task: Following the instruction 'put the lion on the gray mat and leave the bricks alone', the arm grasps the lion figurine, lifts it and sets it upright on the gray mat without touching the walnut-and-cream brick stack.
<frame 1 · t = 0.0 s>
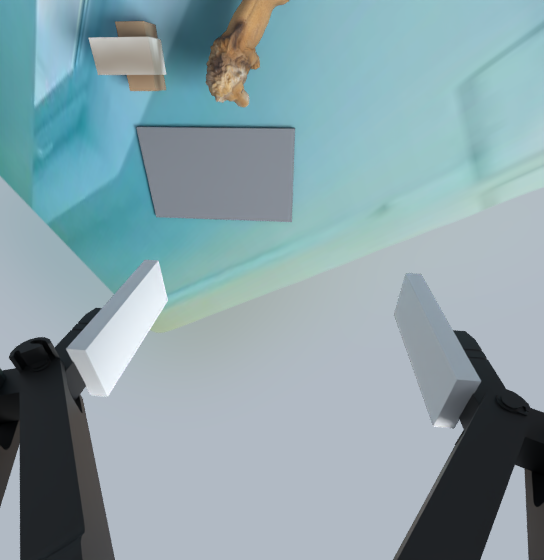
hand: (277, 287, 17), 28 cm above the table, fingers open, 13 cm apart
brick stack: (148, 59, 35), on the table
lion figurine: (261, 34, 33), on the table
gray mat: (219, 176, 42), on the table
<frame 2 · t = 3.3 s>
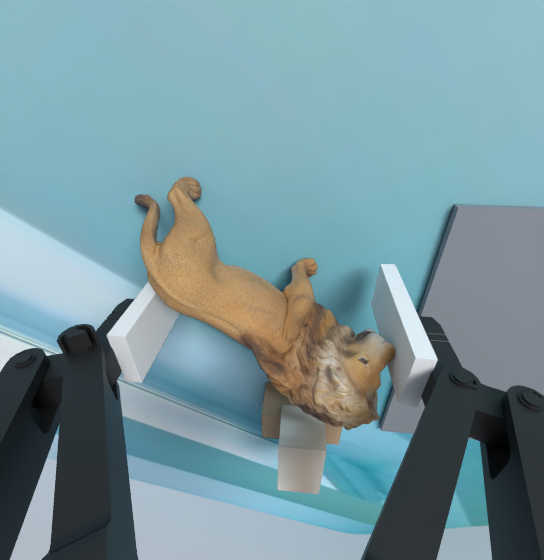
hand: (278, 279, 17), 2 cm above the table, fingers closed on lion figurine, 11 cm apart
brick stack: (301, 396, 26), on the table
lion figurine: (266, 251, 19), on the table, touching gripper
gray mat: (498, 349, 21), on the table
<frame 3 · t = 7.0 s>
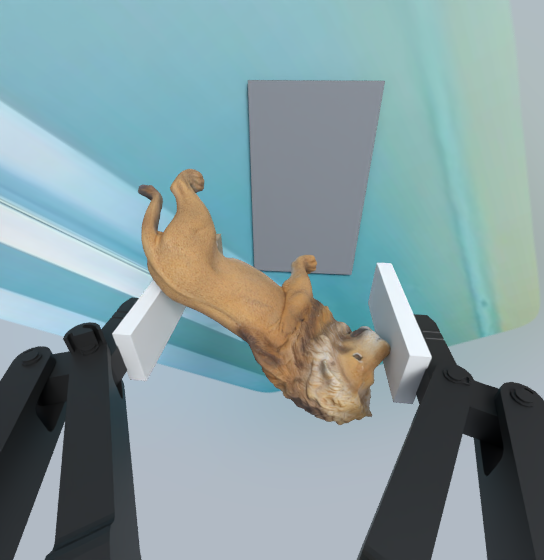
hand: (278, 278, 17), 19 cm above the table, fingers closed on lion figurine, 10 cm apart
lion figurine: (267, 246, 19), point 16 cm above the table, touching gripper
gray mat: (307, 191, 33), on the table
when the fingers open (4 cm above the table, at t = 10.5 s): lion figurine drops 1 cm, resting on gray mat.
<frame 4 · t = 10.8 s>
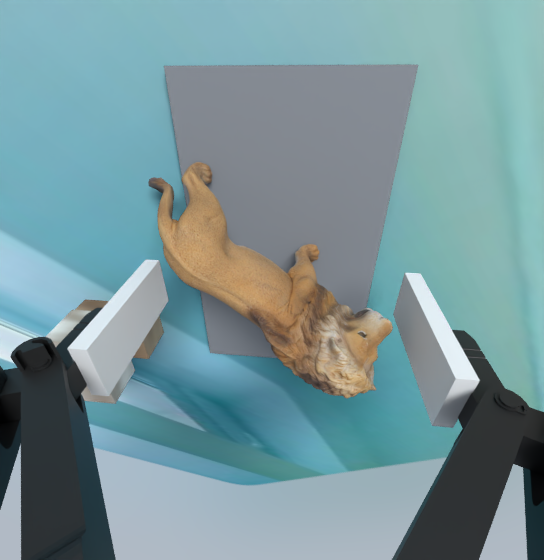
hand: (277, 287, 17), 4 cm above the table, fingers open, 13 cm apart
brick stack: (125, 315, 26), on the table
lion figurine: (271, 236, 20), resting on gray mat
gray mat: (283, 248, 21), on the table
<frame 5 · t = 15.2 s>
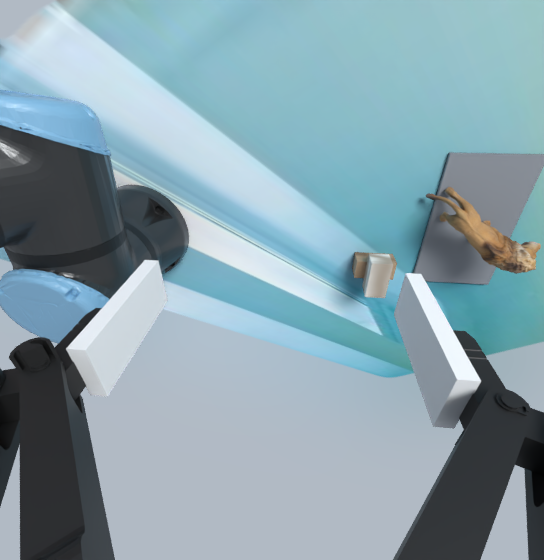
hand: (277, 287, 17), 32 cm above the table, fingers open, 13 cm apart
brick stack: (371, 261, 51), on the table
lion figurine: (468, 217, 45), resting on gray mat
gray mat: (469, 224, 46), on the table
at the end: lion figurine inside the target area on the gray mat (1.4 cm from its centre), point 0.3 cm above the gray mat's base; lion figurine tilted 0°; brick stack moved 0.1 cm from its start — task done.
